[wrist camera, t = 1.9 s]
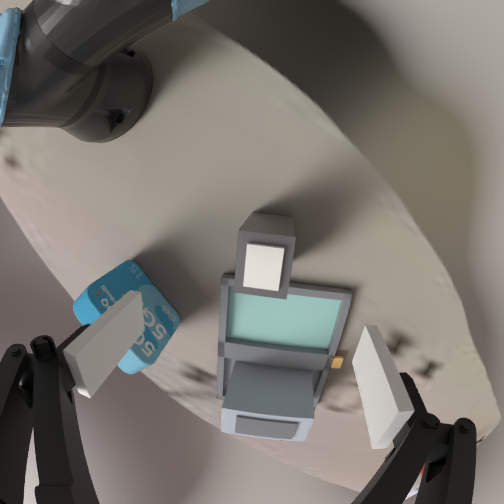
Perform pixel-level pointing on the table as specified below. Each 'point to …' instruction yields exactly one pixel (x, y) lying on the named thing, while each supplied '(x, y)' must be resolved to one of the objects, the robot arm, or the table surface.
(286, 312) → the grey flat panel
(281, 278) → the plug
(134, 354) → the data package
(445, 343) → the table surface
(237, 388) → the block
